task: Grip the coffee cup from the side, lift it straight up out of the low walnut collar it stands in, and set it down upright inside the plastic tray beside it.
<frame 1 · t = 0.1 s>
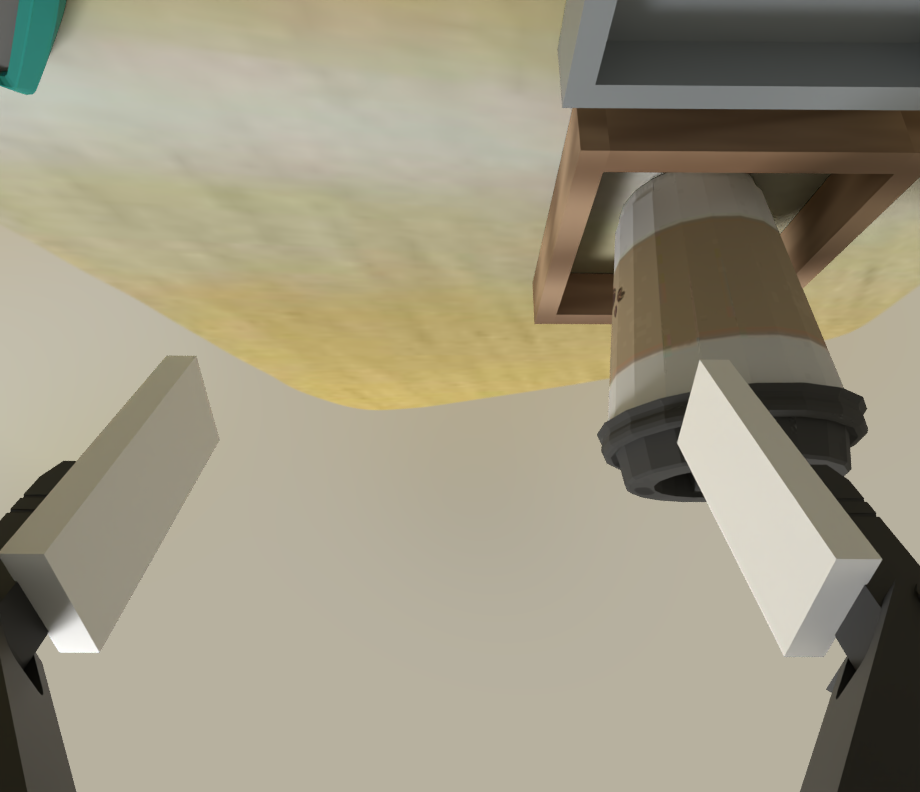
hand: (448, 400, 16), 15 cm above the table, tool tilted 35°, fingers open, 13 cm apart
collar: (685, 210, 32), on the table
coffee cup: (685, 207, 32), resting in collar
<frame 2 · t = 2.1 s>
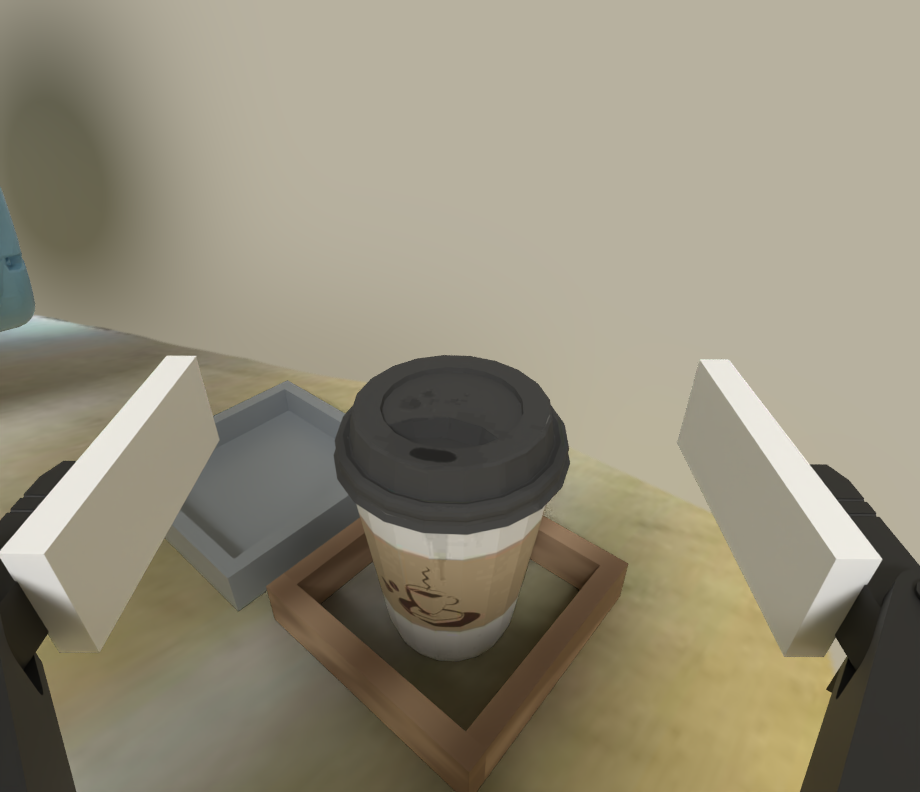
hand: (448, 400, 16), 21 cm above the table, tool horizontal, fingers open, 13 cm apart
tray: (270, 489, 44), on the table
collar: (451, 607, 35), on the table
coffee cup: (451, 609, 35), resting in collar
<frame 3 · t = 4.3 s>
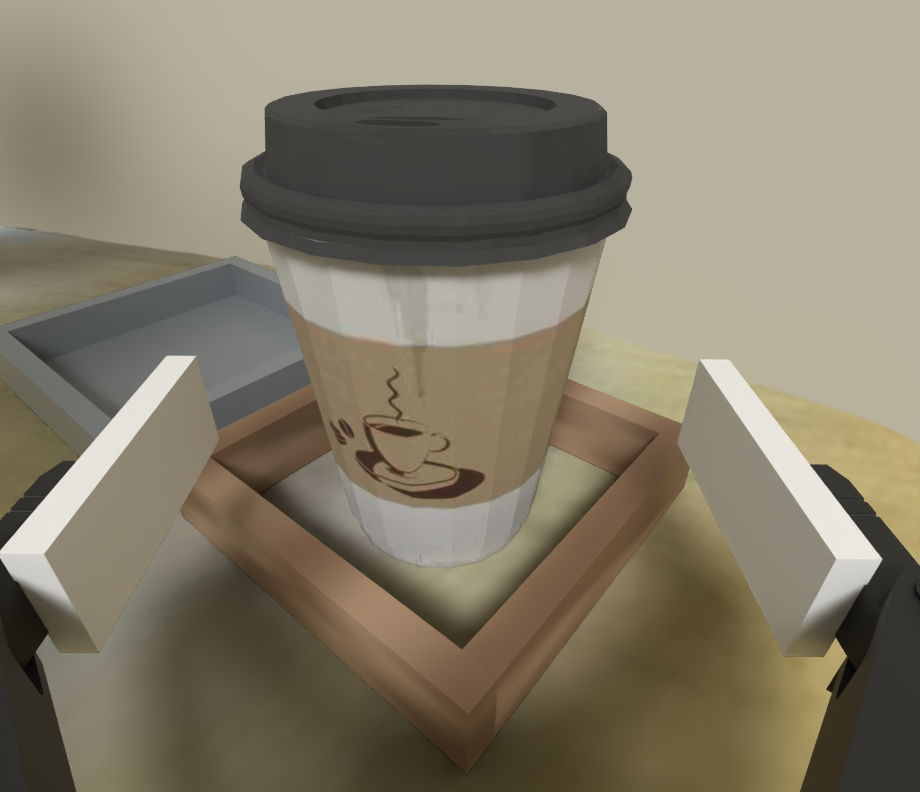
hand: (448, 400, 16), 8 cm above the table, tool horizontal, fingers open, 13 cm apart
tray: (202, 373, 33), on the table
collar: (441, 501, 24), on the table
coffee cup: (441, 504, 24), resting in collar
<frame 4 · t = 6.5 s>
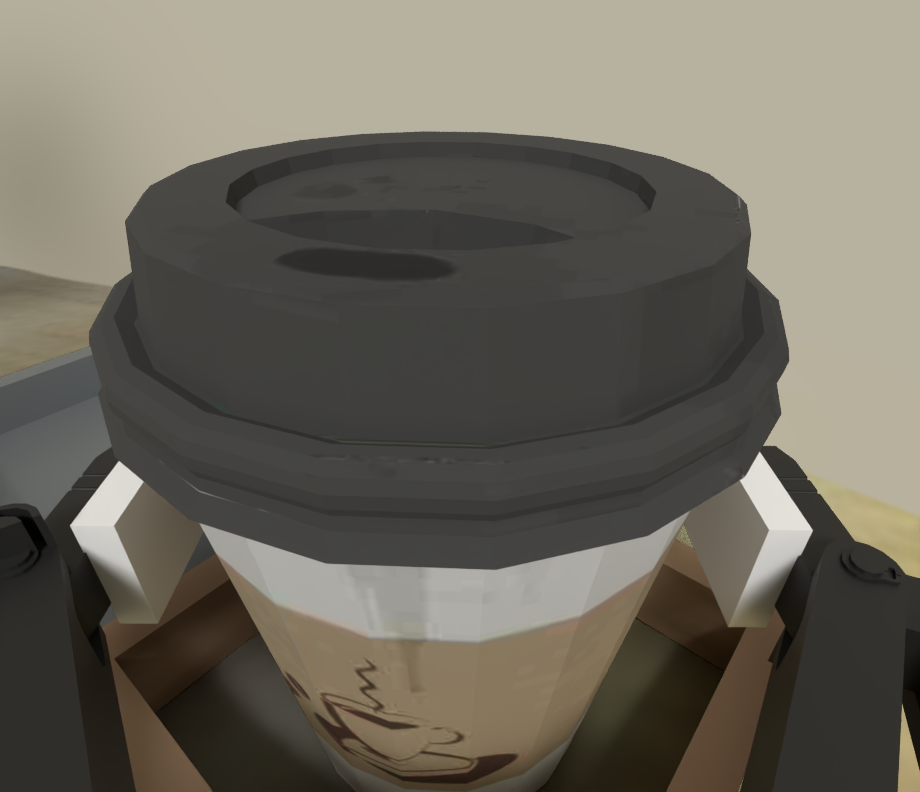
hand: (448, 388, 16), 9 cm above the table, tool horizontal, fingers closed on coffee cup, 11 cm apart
tray: (146, 470, 26), on the table
collar: (447, 694, 18), on the table
coffee cup: (447, 699, 18), resting in collar, touching gripper
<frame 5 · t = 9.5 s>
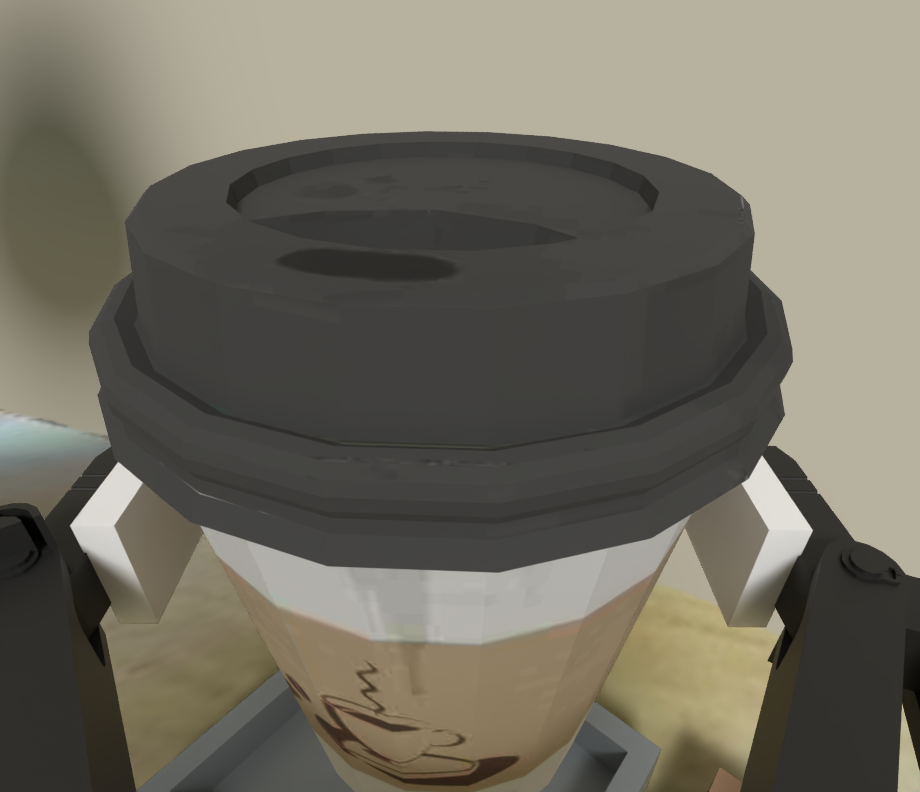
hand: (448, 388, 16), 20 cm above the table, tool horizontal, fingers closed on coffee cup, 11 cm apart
coffee cup: (448, 700, 18), point 11 cm above the table, touching gripper
when the fingers open (11 cm above the table, at t = 12.5 s): coffee cup drops 1 cm, resting on tray.
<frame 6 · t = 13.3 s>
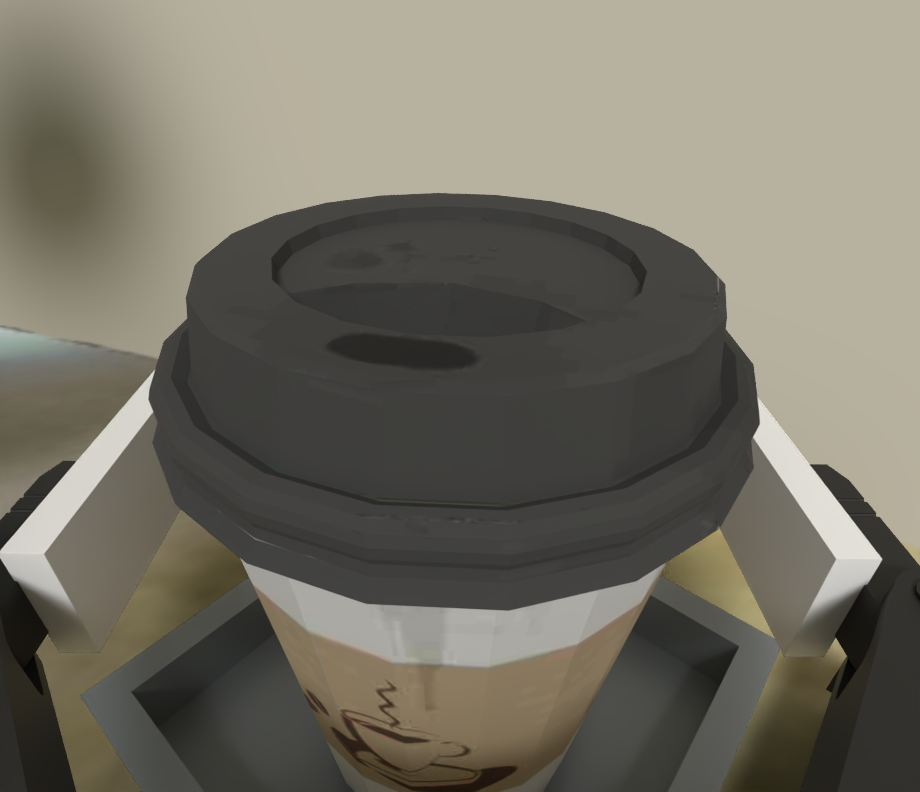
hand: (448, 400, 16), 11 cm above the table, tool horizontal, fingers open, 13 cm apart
tray: (447, 720, 19), on the table
coffee cup: (448, 713, 19), point 1 cm above the table, touching tray
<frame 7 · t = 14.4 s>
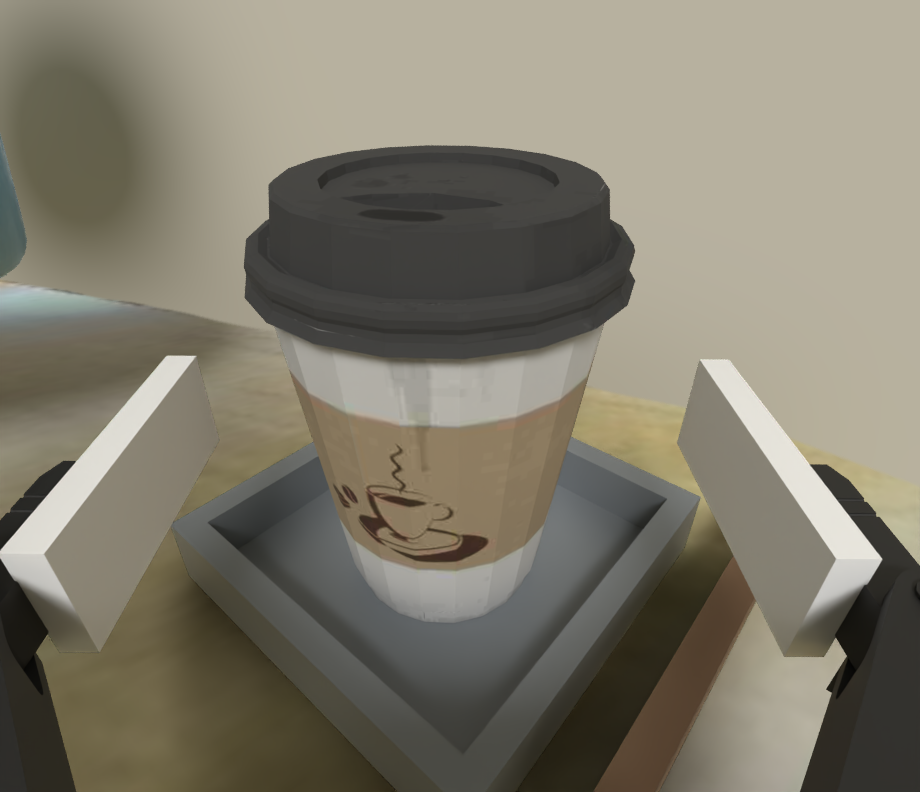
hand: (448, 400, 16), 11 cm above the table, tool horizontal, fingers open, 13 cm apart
tray: (444, 561, 25), on the table
coffee cup: (445, 553, 24), point 1 cm above the table, touching tray
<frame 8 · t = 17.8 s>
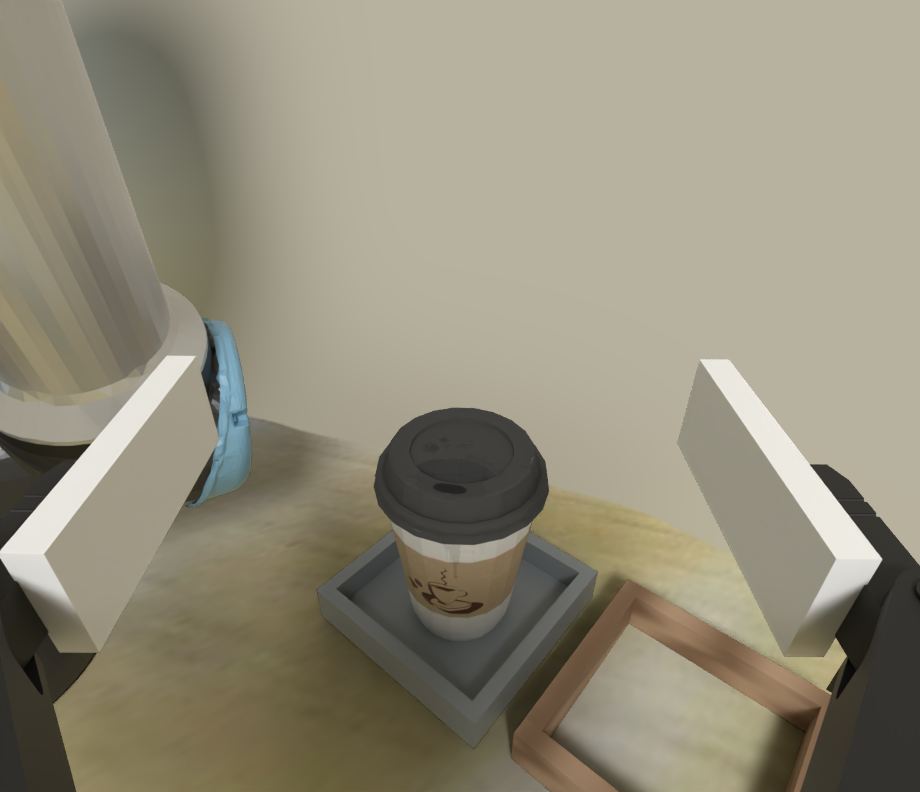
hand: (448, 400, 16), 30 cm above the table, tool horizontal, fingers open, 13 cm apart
tray: (459, 605, 45), on the table
collar: (673, 743, 37), on the table
coffee cup: (460, 602, 45), point 1 cm above the table, touching tray
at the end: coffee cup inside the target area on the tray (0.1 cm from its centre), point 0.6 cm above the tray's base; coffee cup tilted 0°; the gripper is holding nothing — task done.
